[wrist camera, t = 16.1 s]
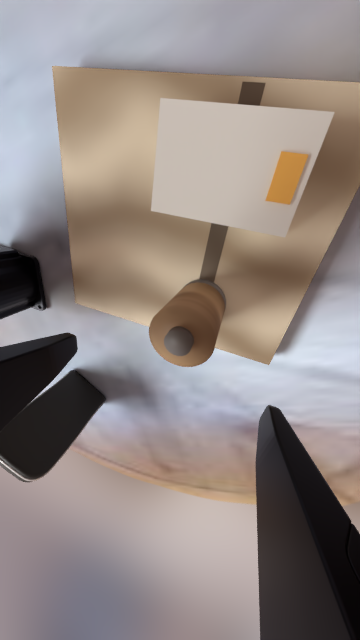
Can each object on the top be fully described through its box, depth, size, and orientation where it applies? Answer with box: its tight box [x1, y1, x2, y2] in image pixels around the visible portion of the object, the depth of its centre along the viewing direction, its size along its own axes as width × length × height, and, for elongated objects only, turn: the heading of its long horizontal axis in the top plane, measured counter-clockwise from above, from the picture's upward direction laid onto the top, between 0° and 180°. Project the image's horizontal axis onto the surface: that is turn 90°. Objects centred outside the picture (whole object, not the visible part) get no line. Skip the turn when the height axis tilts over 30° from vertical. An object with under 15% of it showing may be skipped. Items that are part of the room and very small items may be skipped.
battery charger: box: [0, 370, 106, 482], centre depth 25 cm, size 7×4×11 cm, turn 49°
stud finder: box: [151, 98, 335, 237], centre depth 11 cm, size 5×8×3 cm, turn 80°
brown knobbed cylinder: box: [149, 279, 226, 367], centre depth 14 cm, size 4×4×7 cm
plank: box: [52, 66, 360, 365], centre depth 16 cm, size 17×20×2 cm
